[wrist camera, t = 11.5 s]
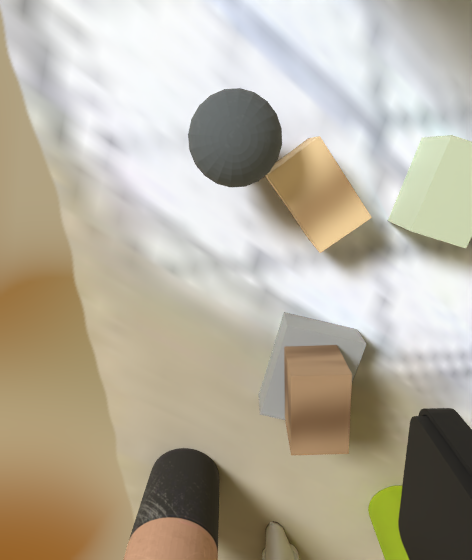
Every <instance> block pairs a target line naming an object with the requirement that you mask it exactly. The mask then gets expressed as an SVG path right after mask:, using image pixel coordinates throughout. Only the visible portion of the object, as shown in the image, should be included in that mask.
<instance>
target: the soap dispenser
mask: <svg viewBox="0 0 472 560" xmlns="http://www.w3.org/2000/svg"><path fill="white" fill-rule="evenodd" d="M401 495H402V486H391V487H388V488H385V489H383V490H381V491H379V492H378V493H377V494H376V495H375V496H374V497H373V498H372V500H371V501H370V504H369V509H368V511H369V516H370V519H371V521H372V524H373V527H374V530H375V532H376V535H377V538H378V541H379V544H380V546H381V549H382V552H383V555H384V558H385V560H409V558H408V555H407V553H406V551H405V548H404V546H403V543H402V541H401V537H400V533H399V525H398V520H399V511H400V503H401Z"/></svg>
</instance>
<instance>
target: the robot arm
mask: <svg viewBox="0 0 472 560" xmlns="http://www.w3.org/2000/svg"><path fill="white" fill-rule="evenodd" d="M398 525H399V533H400V537H401V541H402V543H403V546H404V548H405V551H406V553H407V555H408V558H409V560H472V430H471V428H470V427H469V426H468V425H467V424H466V422H465V421H464V420H463V419H462V418H461V416H460V415H459V414H458V413H457V412H456V411H455V410H454V409H451V408H438V409H422V410H421V411H420V413H419V416H414V417H412V419H411V421H410V428H409V437H408V445H407V453H406V461H405V470H404V478H403V486H402V495H401V503H400V511H399V520H398Z"/></svg>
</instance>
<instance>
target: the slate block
mask: <svg viewBox="0 0 472 560" xmlns="http://www.w3.org/2000/svg"><path fill="white" fill-rule="evenodd" d="M316 345H337V346H338V348H339V350H340V352H341V354H342V356H343V358H344V360H345V362H346V364H347V366H348V368H349V370H350V371H351V373H352V382H353V379H354V376H355V374H356V371H357V368H358V366H359V363H360V360H361V358H362V355H363V352H364V350H365V347H366V342H365V341H364V339H363V338H362V336H361V335H360V333H359V332H358V330H357V329H353V328H349V327H345V326H340V325H336V324H332V323H328V322H323V321H319V320H315V319H311V318H307V317H302V316H298V315H294V314H290V313H285V312H284V314H283V317H282V321H281V324H280V327H279V330H278V334H277V337H276V340H275V344H274V347H273V350H272V353H271V357H270V360H269V363H268V367H267V370H266V373H265V377H264V380H263V383H262V386H261V390H260V393H259V406H260V415H265V416H269V417H274V418H278V419H283V420H285V384H284V347H286V346H316Z"/></svg>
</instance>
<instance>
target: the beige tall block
mask: <svg viewBox="0 0 472 560" xmlns="http://www.w3.org/2000/svg"><path fill="white" fill-rule="evenodd" d="M262 560H299V554H298V551H297V549H296V548H295V547H294V546H293V545H291V544H289V541H288V539H287V536H286V534H285V531H284V529H283V527H282V526H281V525H280V524H279V523H277V522H271V523H269V524H268V526H267V528H266V548H265V549H264V550H263V553H262Z"/></svg>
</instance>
